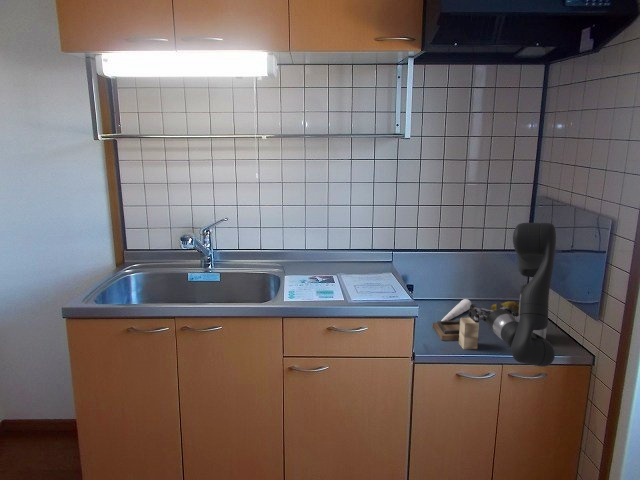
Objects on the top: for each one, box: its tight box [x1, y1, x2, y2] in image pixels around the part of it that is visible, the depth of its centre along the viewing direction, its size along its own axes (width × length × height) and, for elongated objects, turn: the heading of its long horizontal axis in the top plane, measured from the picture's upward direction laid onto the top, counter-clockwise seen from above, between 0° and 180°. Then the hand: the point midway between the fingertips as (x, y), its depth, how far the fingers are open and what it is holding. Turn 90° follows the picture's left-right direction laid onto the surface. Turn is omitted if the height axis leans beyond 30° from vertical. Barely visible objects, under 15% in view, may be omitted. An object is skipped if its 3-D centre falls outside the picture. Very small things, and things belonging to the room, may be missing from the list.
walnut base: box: [432, 319, 460, 342], centre depth 187 cm, size 12×12×3 cm
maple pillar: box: [458, 317, 480, 350], centre depth 175 cm, size 5×5×10 cm
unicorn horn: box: [440, 298, 472, 321], centre depth 203 cm, size 5×24×5 cm, turn 133°
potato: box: [490, 300, 519, 313], centre depth 200 cm, size 8×13×8 cm, turn 18°
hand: (484, 306), depth 160 cm, fingers open, 8 cm apart
